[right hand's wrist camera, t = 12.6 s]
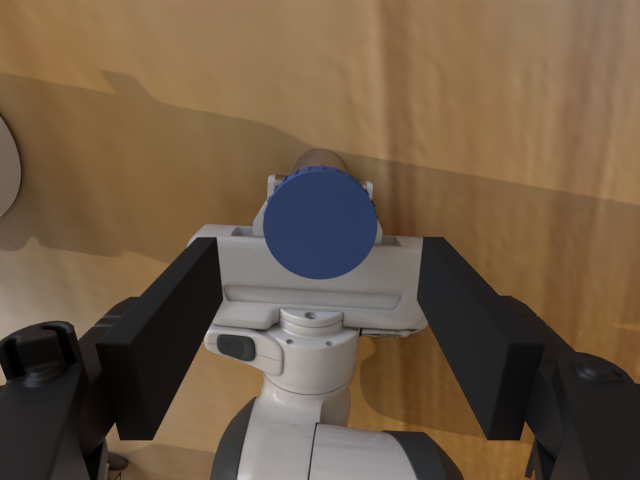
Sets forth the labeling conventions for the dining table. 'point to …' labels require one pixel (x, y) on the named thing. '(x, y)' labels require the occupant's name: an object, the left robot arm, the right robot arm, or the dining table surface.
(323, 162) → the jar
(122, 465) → the figurine
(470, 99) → the dining table surface
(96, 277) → the dining table surface
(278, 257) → the lid
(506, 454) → the dining table surface
